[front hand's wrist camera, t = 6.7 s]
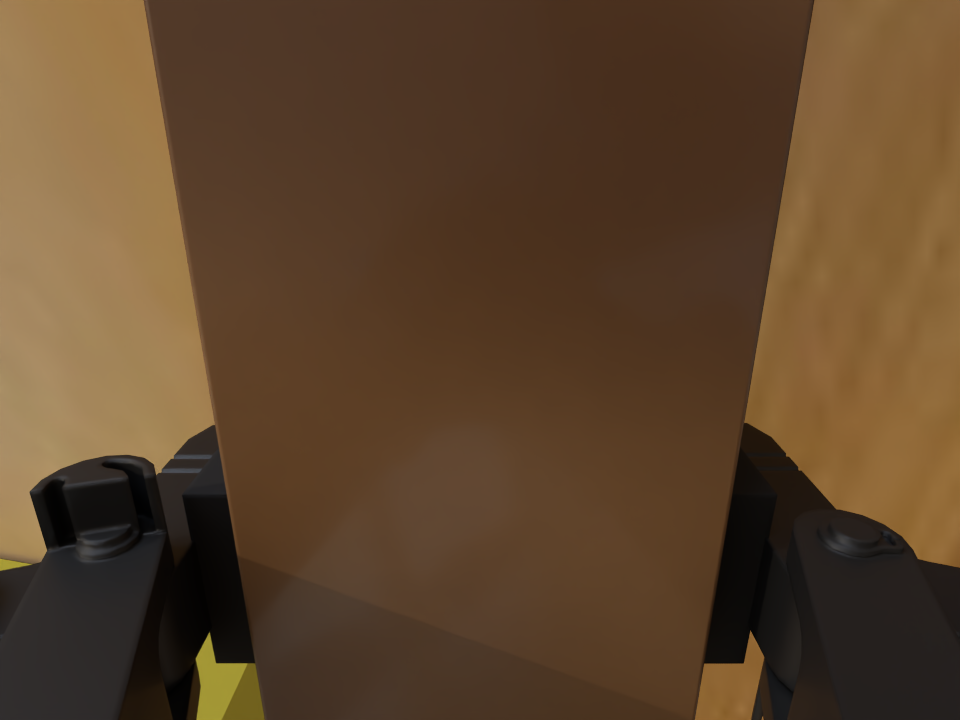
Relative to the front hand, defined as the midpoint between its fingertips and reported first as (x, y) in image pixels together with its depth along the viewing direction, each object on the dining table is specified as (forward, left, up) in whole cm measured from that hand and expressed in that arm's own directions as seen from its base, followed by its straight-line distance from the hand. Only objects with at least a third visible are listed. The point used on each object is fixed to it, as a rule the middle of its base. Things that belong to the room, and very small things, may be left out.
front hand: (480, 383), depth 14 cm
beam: (+25, -28, -1) cm, 37 cm away
